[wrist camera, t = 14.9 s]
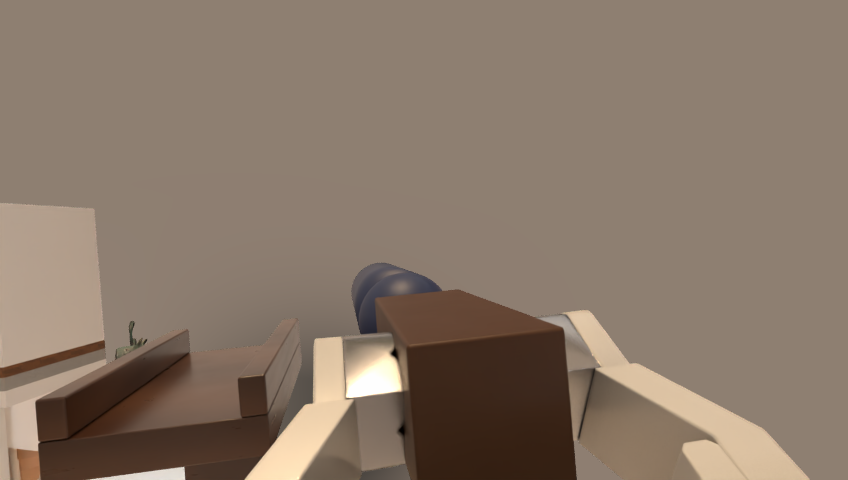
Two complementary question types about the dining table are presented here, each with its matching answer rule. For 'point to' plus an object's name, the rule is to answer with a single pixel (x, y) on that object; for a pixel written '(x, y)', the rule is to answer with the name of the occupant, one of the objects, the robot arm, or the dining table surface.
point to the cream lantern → (44, 319)
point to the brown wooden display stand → (171, 410)
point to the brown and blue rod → (472, 380)
